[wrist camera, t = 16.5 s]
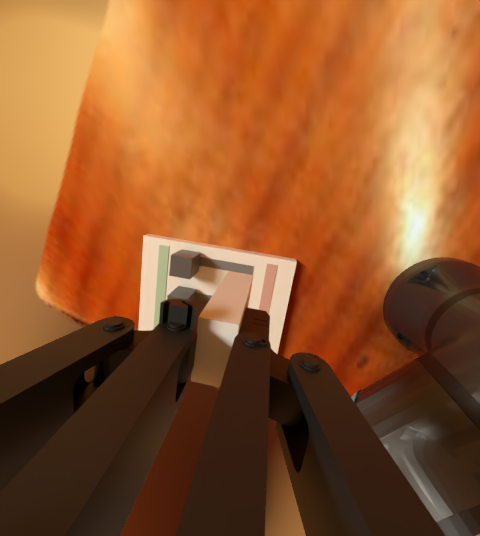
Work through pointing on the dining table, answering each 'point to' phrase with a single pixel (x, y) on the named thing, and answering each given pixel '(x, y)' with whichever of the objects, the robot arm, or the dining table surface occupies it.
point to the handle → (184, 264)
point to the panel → (215, 279)
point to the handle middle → (183, 293)
